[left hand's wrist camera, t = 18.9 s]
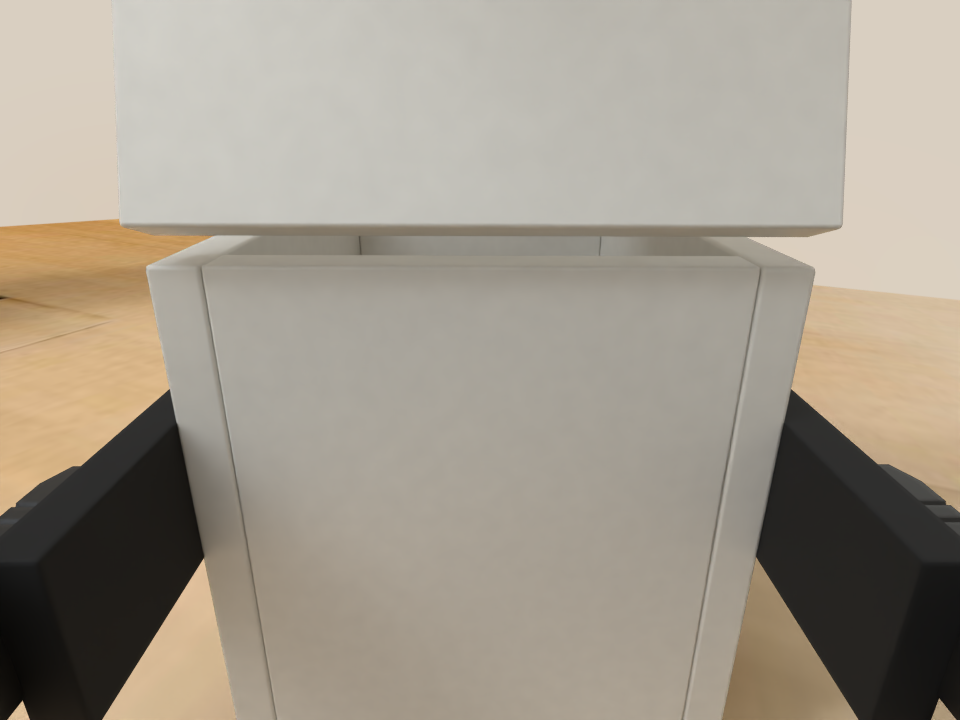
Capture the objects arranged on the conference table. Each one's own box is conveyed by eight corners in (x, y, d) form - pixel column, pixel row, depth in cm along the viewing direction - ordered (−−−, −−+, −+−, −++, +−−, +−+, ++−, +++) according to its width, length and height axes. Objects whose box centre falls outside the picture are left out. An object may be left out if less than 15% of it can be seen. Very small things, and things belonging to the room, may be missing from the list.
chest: (357, 455, 25) (335, 181, 21) (601, 455, 25) (624, 181, 21) (244, 768, 13) (142, 265, 9) (713, 769, 13) (819, 266, 9)
